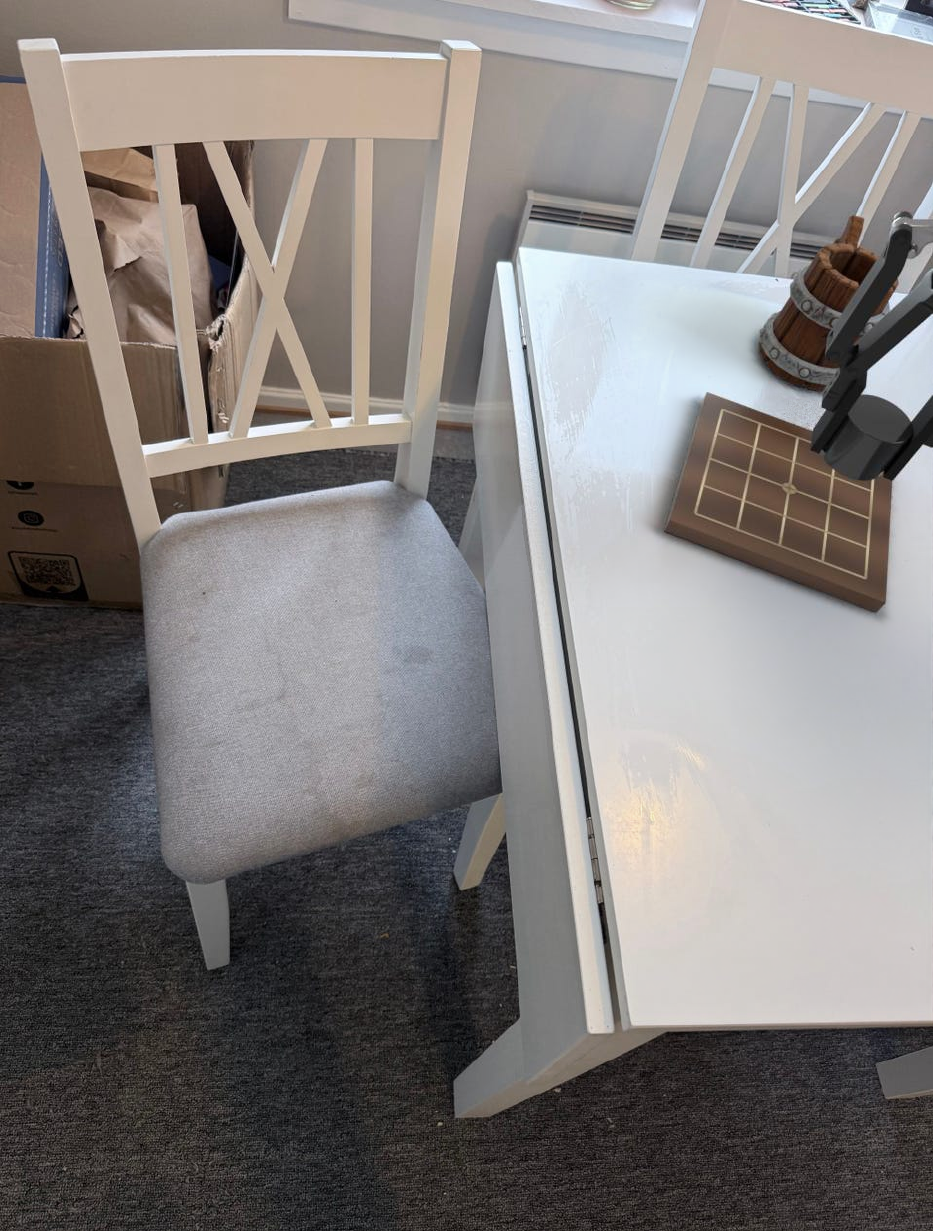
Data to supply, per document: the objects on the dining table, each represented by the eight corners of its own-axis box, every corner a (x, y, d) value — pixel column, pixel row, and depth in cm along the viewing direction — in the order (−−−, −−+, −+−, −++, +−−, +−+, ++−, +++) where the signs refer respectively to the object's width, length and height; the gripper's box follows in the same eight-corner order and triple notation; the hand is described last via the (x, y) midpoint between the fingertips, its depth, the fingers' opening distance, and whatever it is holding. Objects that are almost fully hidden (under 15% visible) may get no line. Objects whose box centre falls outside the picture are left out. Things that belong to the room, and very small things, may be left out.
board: (876, 613, 74) (886, 602, 73) (663, 531, 76) (669, 520, 75) (885, 471, 86) (893, 460, 85) (701, 402, 88) (707, 391, 86)
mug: (752, 380, 91) (820, 241, 81) (744, 326, 101) (803, 197, 91) (856, 409, 91) (937, 274, 81) (836, 352, 101) (906, 226, 91)
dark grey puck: (895, 469, 66) (927, 430, 62) (854, 489, 63) (884, 451, 60) (847, 426, 68) (875, 387, 64) (805, 444, 65) (832, 404, 62)
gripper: (1226, 177, 48) (964, 465, 67) (921, 73, 49) (747, 386, 68) (1256, 239, 44) (966, 529, 62) (919, 124, 45) (734, 443, 64)
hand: (852, 454), depth 65 cm, fingers closed on dark grey puck, 5 cm apart
